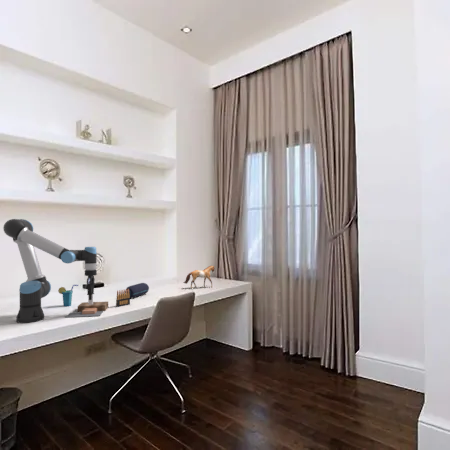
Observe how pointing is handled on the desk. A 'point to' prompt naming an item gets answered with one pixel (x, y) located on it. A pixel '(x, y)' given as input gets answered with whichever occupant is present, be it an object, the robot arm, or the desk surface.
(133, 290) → the portable speaker
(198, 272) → the horse figurine
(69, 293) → the cup
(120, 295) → the ammunition clip
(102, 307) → the deck
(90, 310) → the coaster
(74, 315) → the mat
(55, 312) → the desk surface
